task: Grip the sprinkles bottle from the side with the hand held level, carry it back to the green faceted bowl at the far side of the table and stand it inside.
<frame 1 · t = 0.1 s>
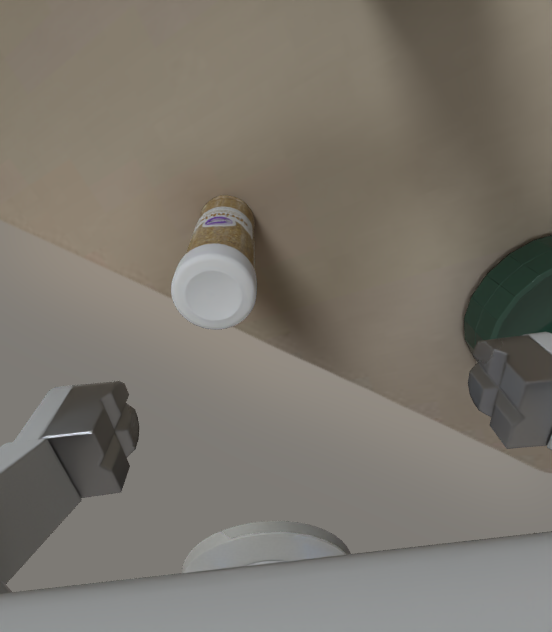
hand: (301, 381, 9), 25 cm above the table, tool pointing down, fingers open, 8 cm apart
sprinkles bottle: (227, 221, 32), on the table
green faceted bowl: (538, 305, 38), on the table
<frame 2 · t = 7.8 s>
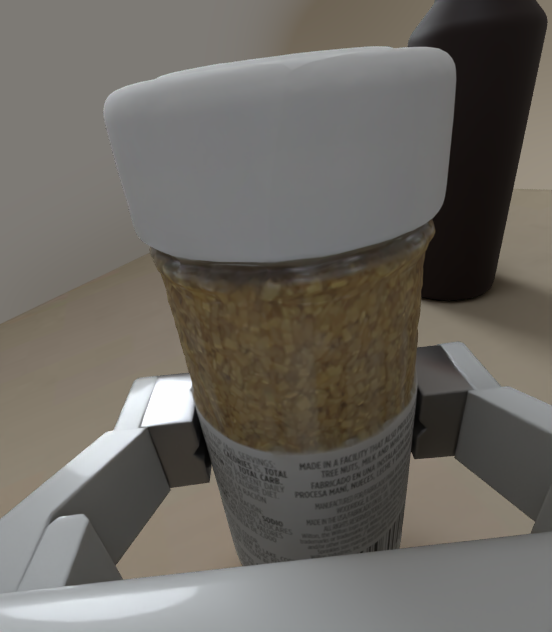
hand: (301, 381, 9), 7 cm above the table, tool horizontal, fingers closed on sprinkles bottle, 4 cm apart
sprinkles bottle: (319, 584, 12), on the table, touching gripper
vinegar: (440, 283, 28), on the table
when the fingers open (8 cm above the table, at t = 18.1 s): sprinkles bottle stays where it is, resting on green faceted bowl.
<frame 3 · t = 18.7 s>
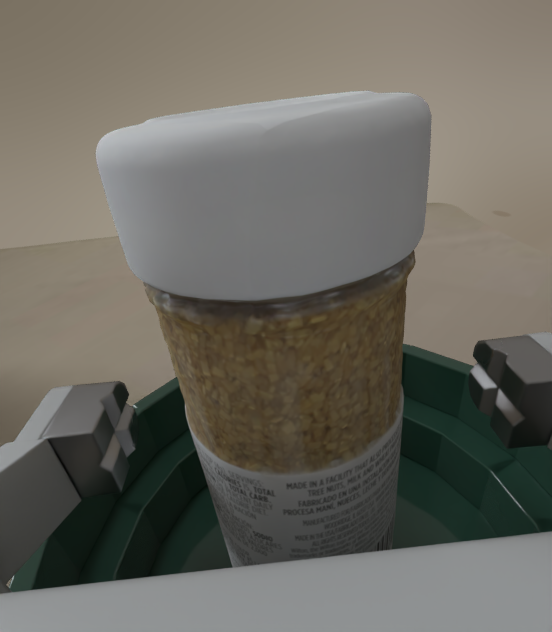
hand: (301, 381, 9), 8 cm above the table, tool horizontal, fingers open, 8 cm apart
sprinkles bottle: (313, 592, 12), resting on green faceted bowl
green faceted bowl: (328, 595, 12), on the table
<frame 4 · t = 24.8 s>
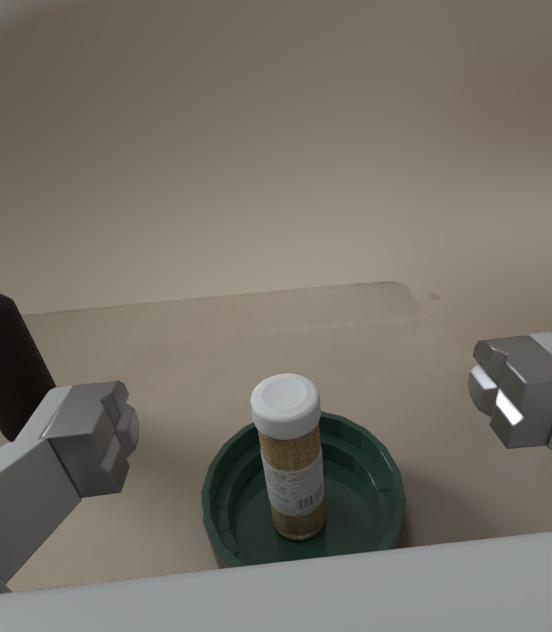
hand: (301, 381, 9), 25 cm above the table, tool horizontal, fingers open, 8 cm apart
sprinkles bottle: (298, 517, 32), resting on green faceted bowl
vinegar: (37, 422, 46), on the table
green faceted bowl: (304, 519, 32), on the table
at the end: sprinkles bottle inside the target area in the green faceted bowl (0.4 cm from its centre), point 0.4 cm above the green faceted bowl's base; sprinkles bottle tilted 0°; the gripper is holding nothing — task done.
